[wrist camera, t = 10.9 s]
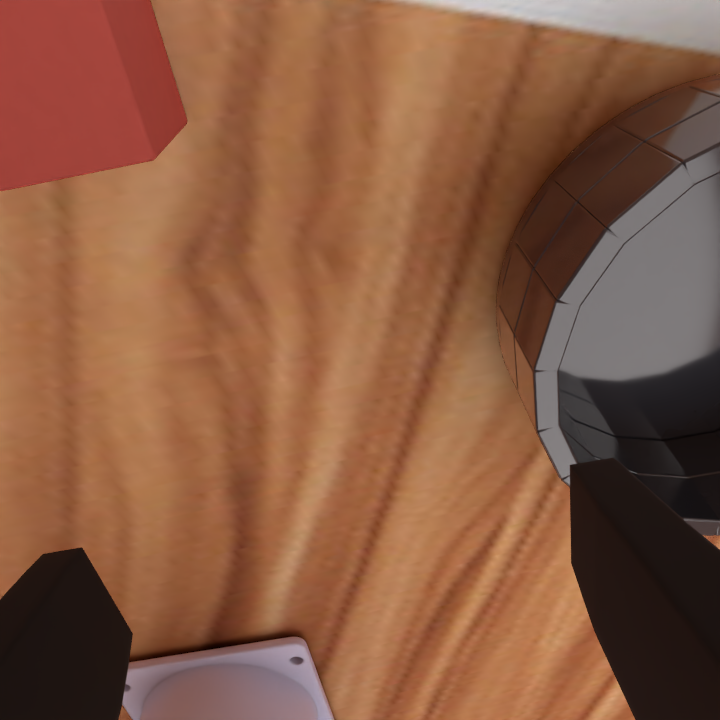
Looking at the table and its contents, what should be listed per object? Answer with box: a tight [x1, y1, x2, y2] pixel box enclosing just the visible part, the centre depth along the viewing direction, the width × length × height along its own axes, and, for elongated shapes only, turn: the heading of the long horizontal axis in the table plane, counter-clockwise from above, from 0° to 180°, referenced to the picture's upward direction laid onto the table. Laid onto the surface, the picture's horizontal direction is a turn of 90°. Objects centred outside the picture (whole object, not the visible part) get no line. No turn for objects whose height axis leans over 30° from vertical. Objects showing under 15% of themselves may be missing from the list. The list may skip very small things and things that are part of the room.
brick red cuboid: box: [0, 0, 187, 191], centre depth 13 cm, size 4×3×4 cm
